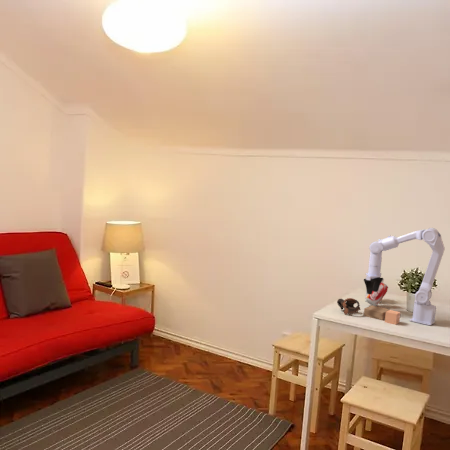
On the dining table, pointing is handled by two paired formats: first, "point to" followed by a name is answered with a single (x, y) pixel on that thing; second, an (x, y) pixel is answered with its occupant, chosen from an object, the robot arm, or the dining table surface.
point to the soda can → (377, 295)
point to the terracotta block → (392, 317)
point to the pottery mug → (348, 305)
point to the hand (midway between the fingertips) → (372, 292)
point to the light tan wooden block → (375, 312)
